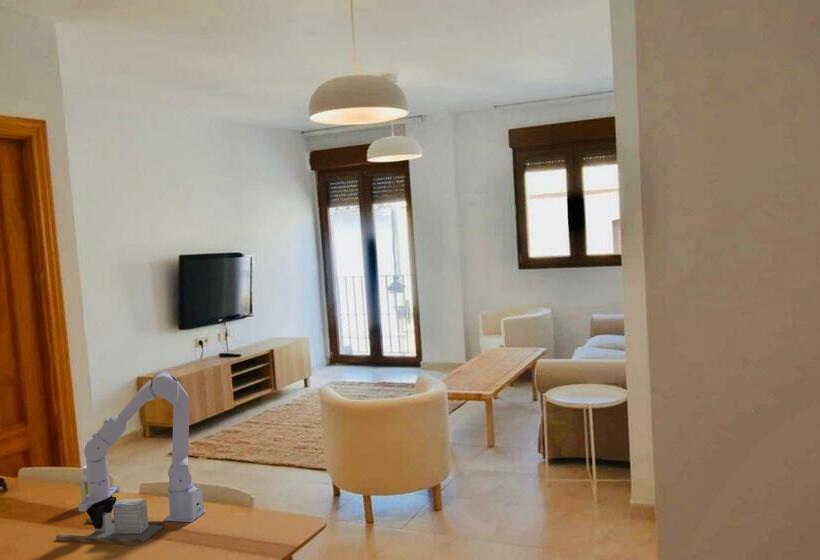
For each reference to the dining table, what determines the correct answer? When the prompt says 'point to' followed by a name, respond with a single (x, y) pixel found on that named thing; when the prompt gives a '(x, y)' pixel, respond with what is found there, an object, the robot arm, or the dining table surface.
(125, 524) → the medicine box
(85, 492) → the supplement bottle
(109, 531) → the grey tray plate
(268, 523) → the dining table surface
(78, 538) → the walnut guide rails
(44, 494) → the dining table surface
